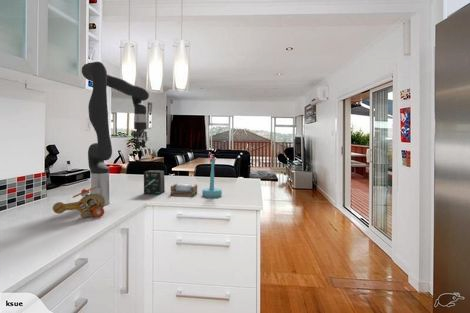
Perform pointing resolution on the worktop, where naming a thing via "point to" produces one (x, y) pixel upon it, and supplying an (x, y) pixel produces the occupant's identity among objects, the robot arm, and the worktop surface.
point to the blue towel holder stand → (212, 185)
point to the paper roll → (184, 188)
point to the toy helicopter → (83, 205)
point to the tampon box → (154, 182)
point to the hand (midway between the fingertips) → (140, 147)
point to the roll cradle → (179, 193)
